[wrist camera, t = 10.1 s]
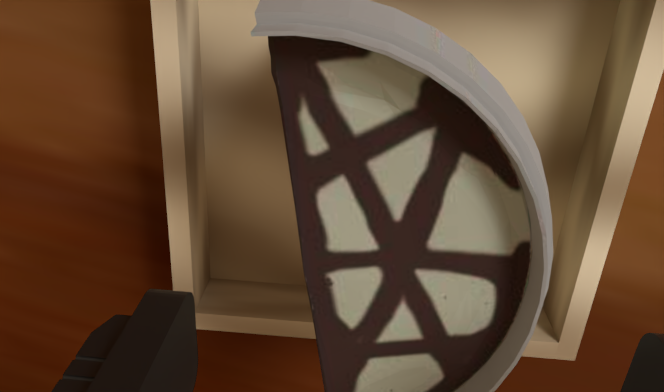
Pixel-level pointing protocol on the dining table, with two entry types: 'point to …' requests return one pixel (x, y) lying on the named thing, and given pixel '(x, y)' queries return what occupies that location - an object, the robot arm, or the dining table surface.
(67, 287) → the dining table surface
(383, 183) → the food container
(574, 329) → the whitewashed wooden tray
